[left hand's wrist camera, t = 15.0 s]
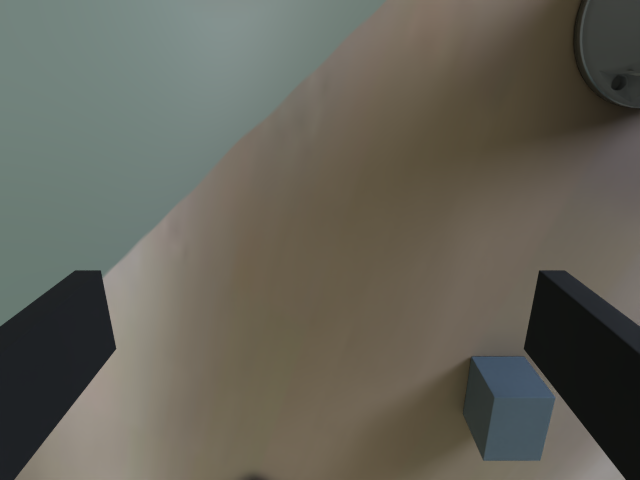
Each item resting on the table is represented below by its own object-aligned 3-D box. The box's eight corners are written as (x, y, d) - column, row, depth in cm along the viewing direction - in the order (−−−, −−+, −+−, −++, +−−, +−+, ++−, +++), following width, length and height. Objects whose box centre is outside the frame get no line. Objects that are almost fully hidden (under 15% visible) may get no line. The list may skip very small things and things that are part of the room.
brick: (462, 414, 55) (483, 460, 48) (471, 356, 52) (494, 397, 45) (512, 414, 55) (540, 460, 48) (524, 356, 52) (555, 397, 45)
